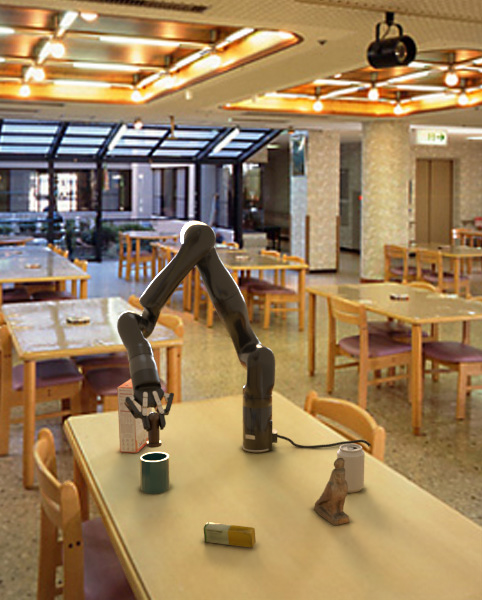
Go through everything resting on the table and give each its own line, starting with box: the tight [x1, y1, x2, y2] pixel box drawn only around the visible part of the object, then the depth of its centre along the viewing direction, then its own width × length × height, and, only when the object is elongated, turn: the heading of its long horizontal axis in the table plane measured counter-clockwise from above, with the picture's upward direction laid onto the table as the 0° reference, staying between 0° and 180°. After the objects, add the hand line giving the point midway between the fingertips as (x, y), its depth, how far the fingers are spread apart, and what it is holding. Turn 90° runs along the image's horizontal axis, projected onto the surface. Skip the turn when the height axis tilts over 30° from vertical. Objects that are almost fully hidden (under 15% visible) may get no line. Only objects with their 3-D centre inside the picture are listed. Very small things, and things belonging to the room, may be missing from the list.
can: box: [336, 443, 366, 494], centre depth 216 cm, size 8×8×12 cm
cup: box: [139, 451, 171, 495], centre depth 214 cm, size 8×8×9 cm
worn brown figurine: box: [313, 458, 350, 526], centre depth 197 cm, size 12×6×18 cm, turn 24°
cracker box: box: [116, 378, 153, 454], centre depth 248 cm, size 14×6×21 cm, turn 172°
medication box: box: [203, 521, 257, 549], centre depth 183 cm, size 12×3×4 cm, turn 75°
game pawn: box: [145, 411, 163, 449], centre depth 213 cm, size 4×4×9 cm
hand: (155, 429), depth 211 cm, fingers closed on game pawn, 3 cm apart
